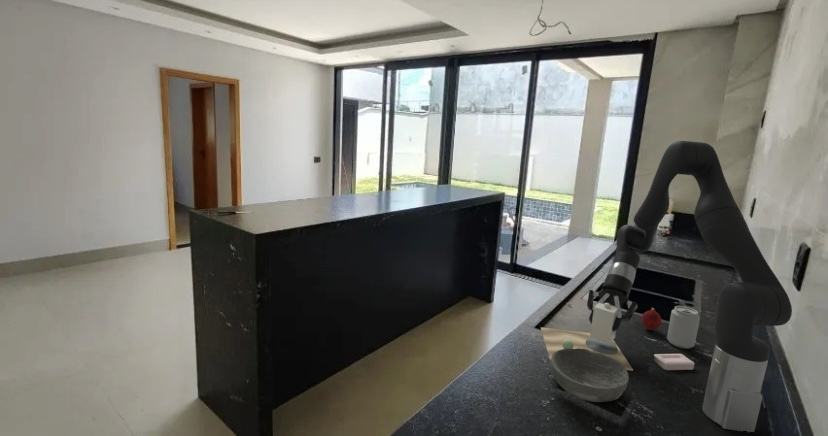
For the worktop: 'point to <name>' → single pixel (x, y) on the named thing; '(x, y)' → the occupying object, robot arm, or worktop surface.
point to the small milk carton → (603, 322)
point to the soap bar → (673, 362)
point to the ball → (567, 344)
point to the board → (581, 344)
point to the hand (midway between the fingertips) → (602, 326)
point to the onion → (651, 319)
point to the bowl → (589, 374)
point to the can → (683, 327)
